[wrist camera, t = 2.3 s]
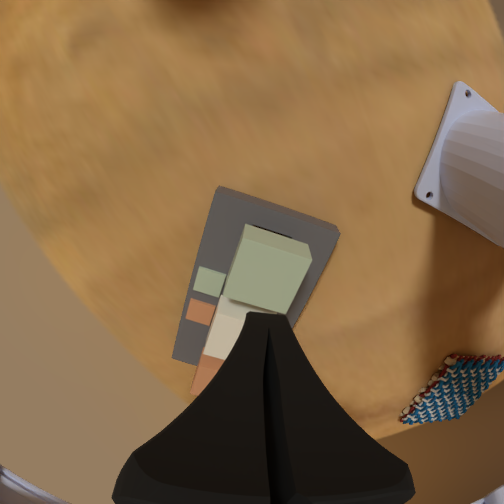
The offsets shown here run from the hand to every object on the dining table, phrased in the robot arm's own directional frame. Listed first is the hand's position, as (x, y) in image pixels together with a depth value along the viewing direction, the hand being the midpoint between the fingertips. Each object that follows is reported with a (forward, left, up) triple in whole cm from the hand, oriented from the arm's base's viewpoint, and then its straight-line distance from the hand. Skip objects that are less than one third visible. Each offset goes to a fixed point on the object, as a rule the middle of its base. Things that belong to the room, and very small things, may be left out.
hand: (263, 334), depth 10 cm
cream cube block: (0, +4, -7) cm, 8 cm away
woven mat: (-25, +9, -9) cm, 28 cm away
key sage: (0, 0, -7) cm, 7 cm away
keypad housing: (0, +4, -8) cm, 9 cm away
